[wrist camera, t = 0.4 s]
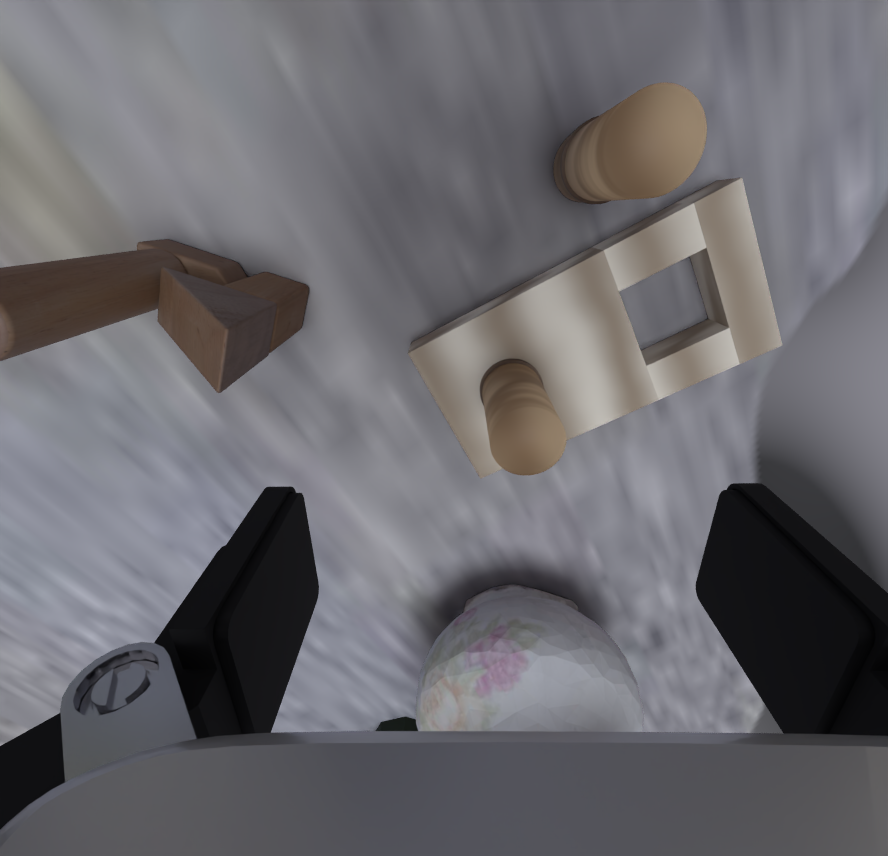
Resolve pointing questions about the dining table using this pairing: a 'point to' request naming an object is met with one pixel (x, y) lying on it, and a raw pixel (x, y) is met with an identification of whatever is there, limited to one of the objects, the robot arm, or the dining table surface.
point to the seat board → (598, 336)
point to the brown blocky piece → (155, 304)
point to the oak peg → (634, 147)
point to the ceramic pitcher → (526, 670)
